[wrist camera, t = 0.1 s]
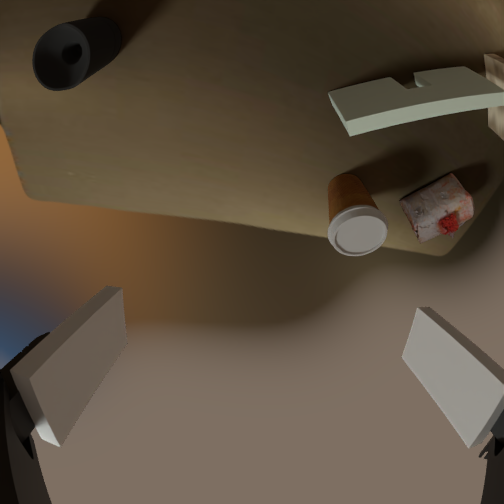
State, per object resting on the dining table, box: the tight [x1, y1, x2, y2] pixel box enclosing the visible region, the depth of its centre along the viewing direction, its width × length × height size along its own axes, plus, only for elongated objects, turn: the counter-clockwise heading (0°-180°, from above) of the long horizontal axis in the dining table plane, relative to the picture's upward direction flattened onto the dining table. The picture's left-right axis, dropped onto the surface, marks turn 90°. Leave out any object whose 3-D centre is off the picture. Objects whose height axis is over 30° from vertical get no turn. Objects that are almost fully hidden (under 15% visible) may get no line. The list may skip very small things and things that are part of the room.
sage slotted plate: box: [328, 66, 504, 136], centre depth 29 cm, size 24×2×11 cm, turn 114°
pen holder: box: [32, 17, 121, 91], centre depth 26 cm, size 9×9×10 cm
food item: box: [399, 173, 474, 243], centre depth 45 cm, size 14×8×10 cm, turn 131°
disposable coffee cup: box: [328, 174, 388, 256], centre depth 45 cm, size 10×10×12 cm
